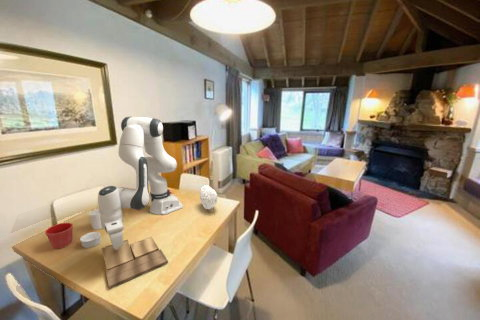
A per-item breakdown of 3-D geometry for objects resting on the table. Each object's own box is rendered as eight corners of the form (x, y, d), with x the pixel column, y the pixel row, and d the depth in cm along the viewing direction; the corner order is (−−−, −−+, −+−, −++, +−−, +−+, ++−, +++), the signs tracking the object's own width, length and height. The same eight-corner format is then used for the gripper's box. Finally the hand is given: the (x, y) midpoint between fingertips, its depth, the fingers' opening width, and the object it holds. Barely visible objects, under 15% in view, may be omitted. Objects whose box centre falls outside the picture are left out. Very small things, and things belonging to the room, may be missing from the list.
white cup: (99, 231, 122) (96, 215, 120) (87, 229, 124) (85, 214, 121) (109, 224, 130) (107, 209, 127) (99, 222, 131) (96, 208, 129)
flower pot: (59, 238, 115) (55, 222, 112) (80, 237, 116) (77, 222, 113) (43, 251, 105) (39, 234, 102) (66, 250, 106) (63, 233, 103)
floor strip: (160, 250, 107) (160, 248, 107) (168, 263, 99) (167, 260, 99) (105, 272, 92) (105, 269, 92) (109, 289, 84) (109, 286, 84)
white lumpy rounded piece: (220, 212, 147) (220, 190, 143) (206, 216, 142) (206, 193, 137) (210, 202, 162) (210, 182, 158) (197, 206, 156) (196, 184, 152)
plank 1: (127, 241, 107) (127, 239, 106) (133, 260, 100) (133, 258, 99) (102, 249, 100) (101, 247, 100) (106, 271, 93) (106, 269, 92)
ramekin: (81, 242, 112) (79, 235, 111) (100, 236, 118) (99, 229, 117) (81, 251, 106) (80, 243, 105) (102, 244, 111) (101, 237, 110)
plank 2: (151, 239, 116) (151, 236, 116) (158, 250, 107) (158, 248, 107) (130, 246, 109) (129, 244, 109) (135, 259, 100) (135, 257, 100)
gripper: (101, 213, 104) (105, 237, 107) (107, 232, 89) (111, 260, 92) (115, 210, 108) (119, 233, 111) (124, 227, 92) (127, 254, 96)
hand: (115, 245), depth 101 cm, fingers open, 4 cm apart
